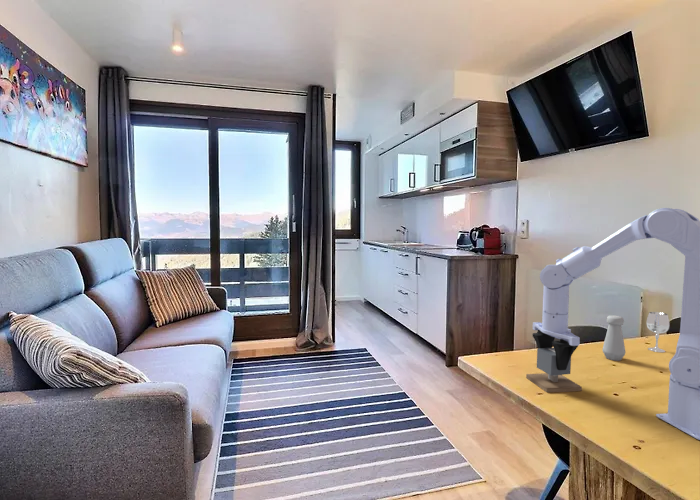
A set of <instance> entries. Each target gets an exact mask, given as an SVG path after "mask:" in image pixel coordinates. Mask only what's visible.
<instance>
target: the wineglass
mask: <svg viewBox="0 0 700 500" xmlns="http://www.w3.org/2000/svg"><path fill="white" fill-rule="evenodd" d="M646 327H647V329H648V330H649V331H651V332H652V333H655V335H654V337H655V346H654V347H648V348H647V350H648V351H651V352H656V353H666V349H665V350H664V349H662V348H660V347H659V346H658V345H659V344H658V343H659V339H660V334H664V333H666V332H668V331H669V330H670V319H669V314H668V313H665V312H660V311H649V313H648V314H647V318H646Z"/></svg>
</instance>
